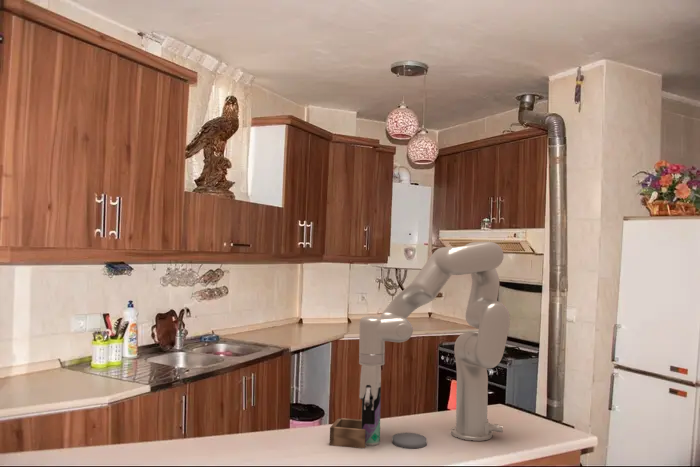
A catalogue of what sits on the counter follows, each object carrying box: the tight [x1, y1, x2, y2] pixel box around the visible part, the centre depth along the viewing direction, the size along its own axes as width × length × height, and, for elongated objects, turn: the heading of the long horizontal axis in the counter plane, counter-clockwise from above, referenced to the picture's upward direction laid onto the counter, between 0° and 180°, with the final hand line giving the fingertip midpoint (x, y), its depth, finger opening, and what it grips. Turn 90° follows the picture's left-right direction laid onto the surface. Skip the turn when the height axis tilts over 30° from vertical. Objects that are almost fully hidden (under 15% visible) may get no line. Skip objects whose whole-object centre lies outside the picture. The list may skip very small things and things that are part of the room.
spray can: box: [361, 381, 382, 447], centre depth 166 cm, size 6×6×20 cm
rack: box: [329, 417, 366, 449], centre depth 166 cm, size 10×10×5 cm
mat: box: [391, 432, 427, 450], centre depth 166 cm, size 10×10×2 cm
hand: (371, 420), depth 165 cm, fingers closed on spray can, 5 cm apart
